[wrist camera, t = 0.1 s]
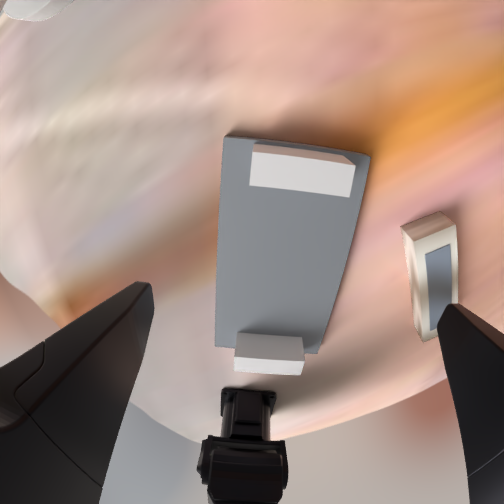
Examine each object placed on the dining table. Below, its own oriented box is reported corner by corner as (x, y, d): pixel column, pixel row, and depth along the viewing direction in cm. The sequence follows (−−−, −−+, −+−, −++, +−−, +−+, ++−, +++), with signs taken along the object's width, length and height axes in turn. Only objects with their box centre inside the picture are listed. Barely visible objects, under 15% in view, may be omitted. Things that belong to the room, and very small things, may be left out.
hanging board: (315, 346, 29) (320, 377, 26) (215, 339, 29) (210, 370, 26) (366, 154, 20) (386, 167, 16) (225, 135, 20) (217, 144, 16)
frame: (444, 309, 27) (457, 328, 24) (412, 322, 28) (423, 343, 25) (438, 209, 22) (456, 225, 19) (398, 224, 23) (414, 242, 20)
